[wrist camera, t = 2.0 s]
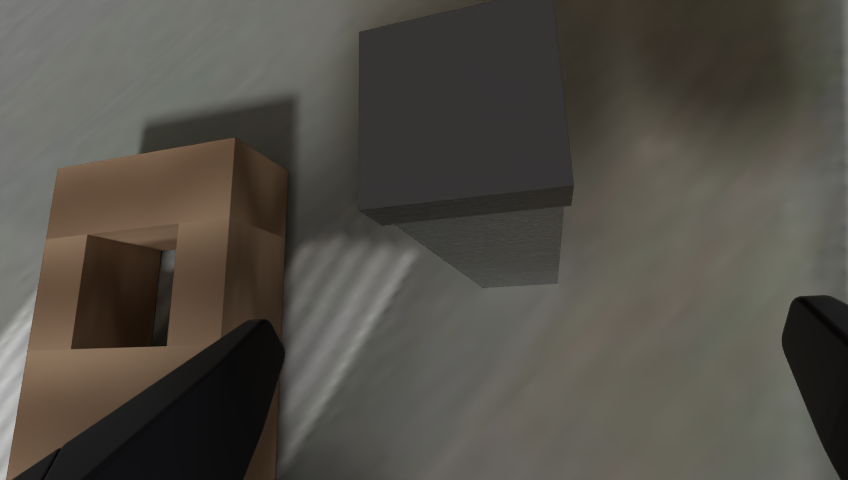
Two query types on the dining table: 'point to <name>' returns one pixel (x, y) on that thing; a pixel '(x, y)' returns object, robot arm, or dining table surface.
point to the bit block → (148, 283)
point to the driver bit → (469, 138)
